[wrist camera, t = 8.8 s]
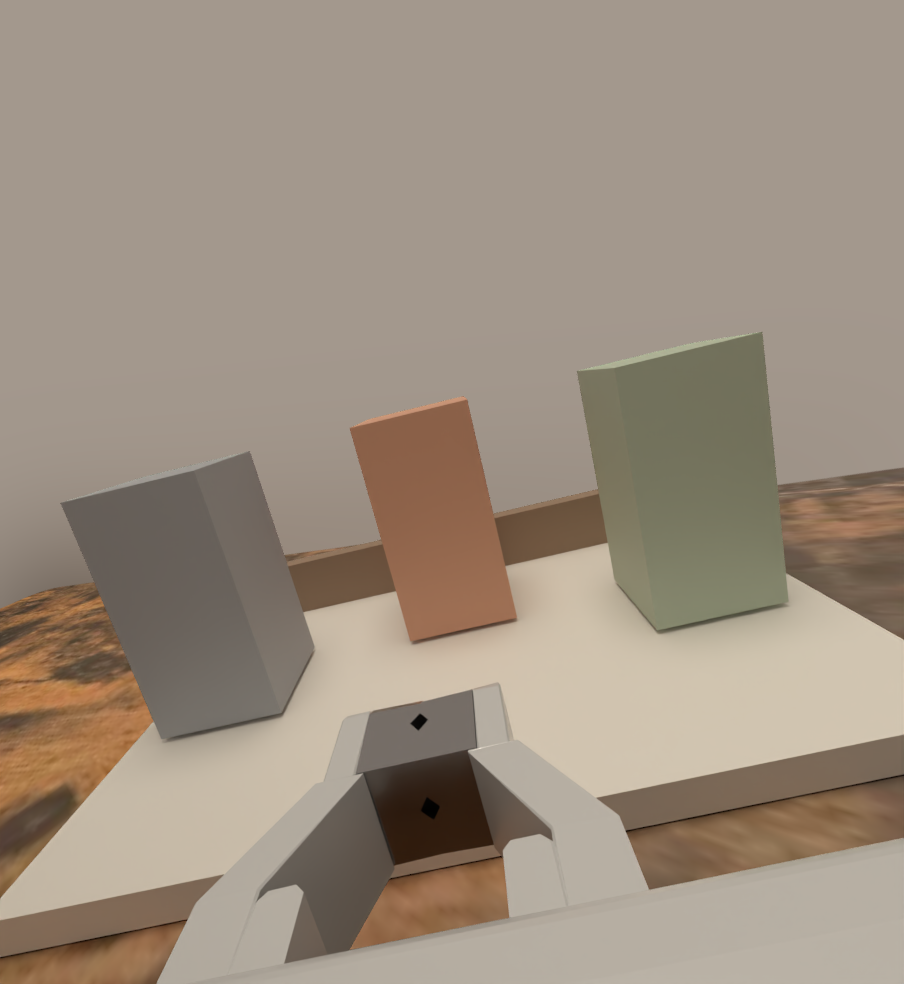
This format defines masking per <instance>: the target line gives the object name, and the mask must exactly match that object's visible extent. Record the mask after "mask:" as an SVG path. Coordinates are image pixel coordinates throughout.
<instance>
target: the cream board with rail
mask: <svg viewBox="0 0 904 984" xmlns="http://www.w3.org/2000/svg"><path fill="white" fill-rule="evenodd" d="M493 515H494V519H495V523H496V528H497V532H498V536H499V541H500V545H501V549H502V554H503V558H504V562H505V567H506V571H507V576H508V580H509V584H510V589H511V593H512V597H513V602H514V606H515V610H516V615H517V618H513V619H509V620H504V621H500V622H495V623H491V624H486V625H482V626H477V627H473V628H468V629H464V630H459V631H455V632H451V633H446V634H442V635H437V636H433V637H428V638H424V639H419V640H415V641H410V639H409V635H408V632H407V628H406V625H405V621H404V618H403V614H402V611H401V607H400V603H399V600H398V596H397V593H396V589H395V586H394V582H393V579H392V575H391V572H390V568H389V565H388V561H387V558H386V554H385V551H384V547H383V544H382V540H378V541H374V542H370V543H365V544H361V545H357V546H352V547H348V548H344V549H340V550H335V551H331V552H327V553H322V554H318V555H314V556H310V557H305V558H301V559H297V560H292V561H288V562H287V565H288V568H289V571H290V574H291V577H292V580H293V583H294V586H295V589H296V592H297V595H298V598H299V601H300V604H301V607H302V610H303V613H304V616H305V619H306V622H307V625H308V628H309V631H310V634H311V637H312V640H313V643H314V646H315V647H314V649H313V651H312V653H311V655H310V657H309V659H308V661H307V663H306V665H305V667H304V669H303V671H302V673H301V675H300V677H299V679H298V681H297V683H296V685H295V687H294V689H293V691H292V693H291V695H290V697H289V699H288V701H287V703H286V705H285V707H284V709H283V711H282V713H279V714H274V715H270V716H265V717H261V718H256V719H252V720H247V721H243V722H238V723H233V724H229V725H224V726H220V727H215V728H211V729H206V730H202V731H197V732H192V733H188V734H183V735H179V736H174V737H170V738H165V739H161V737H160V735H159V732H158V730H157V728H156V725H155V723H154V722H153V723H152V724H151V725H150V726H149V727H148V729H147V730H146V731H145V732H144V733H143V734H142V736H141V737H140V738H139V739H138V740H137V741H136V742H135V744H134V745H133V746H132V747H131V748H130V749H129V750H128V752H127V753H126V754H125V755H124V756H123V757H122V759H121V760H120V761H119V762H118V763H117V764H116V765H115V767H114V768H113V769H112V770H111V771H110V772H109V774H108V775H107V776H106V777H105V778H104V779H103V780H102V782H101V783H100V784H99V785H98V786H97V787H96V789H95V790H94V791H93V792H92V793H91V794H90V795H89V797H88V798H87V799H86V800H85V801H84V802H83V804H82V805H81V806H80V807H79V808H78V809H77V810H76V812H75V813H74V814H73V815H72V816H71V817H70V819H69V820H68V821H67V822H66V823H65V824H64V825H63V827H62V828H61V829H60V830H59V831H58V832H57V834H56V835H55V836H54V837H53V838H52V839H51V840H50V842H49V843H48V844H47V845H46V846H45V847H44V849H43V850H42V851H41V852H40V853H39V854H38V855H37V857H36V858H35V859H34V860H33V861H32V862H31V863H30V865H29V866H28V867H27V868H26V869H25V870H24V872H23V873H22V874H21V875H20V876H19V877H18V878H17V880H16V881H15V882H14V883H13V884H12V885H11V887H10V888H9V889H8V890H7V891H6V892H5V893H4V895H3V896H2V897H1V898H0V957H3V956H8V955H13V954H18V953H23V952H28V951H33V950H38V949H43V948H48V947H53V946H58V945H63V944H68V943H72V942H77V941H82V940H87V939H92V938H97V937H102V936H107V935H112V934H117V933H122V932H127V931H132V930H137V929H142V928H147V927H152V926H156V925H161V924H166V923H171V922H176V921H181V920H186V919H188V918H189V916H190V914H191V912H192V910H193V908H194V906H195V904H196V902H197V901H198V900H199V899H200V898H201V897H202V896H203V895H204V894H205V893H206V892H207V891H208V890H209V889H210V888H211V887H212V886H213V885H214V884H215V883H216V882H217V881H218V880H219V879H220V878H221V877H222V876H223V875H224V874H225V873H226V872H227V871H228V870H229V869H230V868H231V867H232V866H233V865H234V864H235V863H236V862H237V861H238V860H239V859H240V858H241V857H242V856H243V855H244V854H245V853H246V852H247V851H248V850H249V849H250V848H251V847H252V846H253V845H254V844H255V843H256V842H257V841H258V840H259V839H260V838H261V837H262V836H263V835H264V834H265V833H266V832H267V831H268V830H269V829H270V828H272V827H273V826H274V825H275V824H276V823H277V822H278V821H279V820H280V819H281V818H282V817H283V816H284V815H285V814H286V813H287V812H288V811H289V810H290V809H291V808H292V807H293V806H294V805H295V804H296V803H297V802H298V801H299V800H300V799H301V798H302V797H303V796H304V795H305V794H306V793H307V792H308V791H309V790H310V789H311V788H312V787H313V786H314V785H315V784H316V783H321V782H324V779H325V775H326V772H327V769H328V766H329V763H330V760H331V756H332V753H333V750H334V747H335V744H336V740H337V737H338V734H339V731H340V728H341V725H342V721H343V720H344V719H345V718H346V717H347V716H351V715H355V714H359V713H364V712H368V711H371V712H372V711H374V710H379V709H384V708H389V707H394V706H399V705H404V704H409V703H414V702H419V701H427V700H431V699H435V698H439V697H443V696H447V695H451V694H455V693H459V692H463V691H467V690H471V689H472V690H473V689H474V688H478V687H482V686H485V685H489V684H493V683H497V682H498V683H499V684H500V686H501V689H502V693H503V697H504V701H505V705H506V709H507V713H508V717H509V721H510V725H511V729H512V733H513V737H514V740H519V741H520V742H522V743H523V744H524V745H526V746H527V747H528V748H530V749H531V750H532V751H534V752H535V753H536V754H538V755H539V756H540V757H542V758H543V759H544V760H546V761H547V762H548V763H550V764H551V765H552V766H554V767H555V768H556V769H558V770H559V771H560V772H562V773H563V774H564V775H566V776H567V777H568V778H570V779H571V780H573V781H574V782H575V783H577V784H578V785H579V786H581V787H582V788H583V789H585V790H586V791H587V792H589V793H590V794H591V795H593V796H594V797H595V798H597V799H598V800H599V801H601V802H602V803H603V804H605V805H606V806H607V807H609V808H610V809H611V810H613V811H614V812H615V813H617V814H618V815H619V816H620V819H621V821H622V824H623V826H624V829H625V831H626V830H631V829H636V828H641V827H646V826H651V825H656V824H661V823H666V822H671V821H675V820H680V819H685V818H690V817H695V816H700V815H705V814H710V813H715V812H720V811H725V810H730V809H735V808H740V807H745V806H750V805H755V804H759V803H764V802H769V801H774V800H779V799H784V798H789V797H794V796H799V795H804V794H809V793H814V792H819V791H824V790H829V789H834V788H839V787H843V786H848V785H853V784H858V783H863V782H868V781H873V780H878V779H883V778H888V777H893V776H898V775H903V774H904V640H903V639H901V638H899V637H898V636H896V635H894V634H892V633H891V632H889V631H887V630H885V629H883V628H882V627H880V626H878V625H876V624H875V623H873V622H871V621H869V620H868V619H866V618H864V617H862V616H861V615H859V614H857V613H855V612H853V611H852V610H850V609H848V608H846V607H845V606H843V605H841V604H839V603H838V602H836V601H834V600H832V599H830V598H829V597H827V596H825V595H823V594H822V593H820V592H818V591H816V590H815V589H813V588H811V587H809V586H808V585H806V584H804V583H802V582H800V581H799V580H797V579H795V578H793V577H792V576H790V575H788V574H786V580H787V590H788V600H789V602H785V603H780V604H775V605H771V606H766V607H762V608H757V609H753V610H748V611H744V612H739V613H734V614H730V615H725V616H721V617H716V618H712V619H707V620H703V621H698V622H693V623H689V624H684V625H680V626H675V627H671V628H666V629H662V630H657V629H656V628H655V627H654V626H653V625H652V623H651V622H650V621H649V620H648V619H647V617H646V616H645V615H644V614H643V613H642V612H641V610H640V609H639V608H638V607H637V606H636V604H635V603H634V602H633V601H632V600H631V598H630V597H629V596H628V595H627V594H626V593H625V591H624V590H623V589H622V588H621V587H620V585H619V584H618V583H617V582H616V581H615V580H614V575H613V569H612V564H611V558H610V552H609V547H608V541H607V536H606V530H605V524H604V519H603V513H602V508H601V502H600V497H599V491H598V489H597V490H592V491H588V492H584V493H580V494H575V495H571V496H567V497H562V498H558V499H554V500H550V501H546V502H541V503H537V504H533V505H528V506H524V507H520V508H516V509H511V510H507V511H503V512H499V513H494V514H493ZM498 856H501V855H500V854H499V853H498V851H497V850H496V849H495V847H494V845H490V846H485V847H479V848H473V849H468V850H462V851H456V852H451V853H445V854H440V855H436V856H432V857H428V858H424V859H420V860H416V861H412V862H407V863H403V864H399V865H395V866H394V868H395V870H394V871H393V873H392V875H391V877H390V878H394V877H399V876H404V875H409V874H413V873H418V872H423V871H428V870H433V869H438V868H443V867H448V866H453V865H458V864H463V863H468V862H473V861H478V860H483V859H488V858H493V857H498Z"/></svg>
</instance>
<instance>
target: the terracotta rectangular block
mask: <svg viewBox="0 0 904 984" xmlns="http://www.w3.org/2000/svg"><path fill="white" fill-rule="evenodd" d="M350 431H351V435H352V438H353V442H354V445H355V449H356V452H357V455H358V459H359V463H360V466H361V470H362V473H363V477H364V480H365V484H366V487H367V491H368V495H369V498H370V502H371V505H372V509H373V512H374V516H375V519H376V523H377V526H378V529H379V533H380V537H381V540H382V544H383V547H384V551H385V554H386V558H387V561H388V565H389V568H390V572H391V575H392V579H393V582H394V586H395V589H396V593H397V596H398V600H399V603H400V607H401V611H402V614H403V618H404V621H405V625H406V628H407V632H408V635H409V639H410V641H415V640H419V639H424V638H428V637H433V636H437V635H442V634H446V633H451V632H455V631H459V630H464V629H468V628H473V627H477V626H482V625H486V624H491V623H495V622H500V621H504V620H509V619H513V618H517V615H516V610H515V606H514V602H513V597H512V593H511V589H510V584H509V580H508V576H507V571H506V567H505V562H504V558H503V554H502V549H501V545H500V541H499V536H498V532H497V528H496V523H495V519H494V515H493V511H492V506H491V502H490V497H489V493H488V488H487V485H486V480H485V475H484V471H483V467H482V463H481V458H480V454H479V449H478V445H477V441H476V436H475V432H474V428H473V423H472V419H471V414H470V410H469V406H468V401H467V399H466V398H465V397H464V396H462V397H458V398H454V399H450V400H445V401H441V402H438V403H434V404H429V405H425V406H421V407H417V408H413V409H409V410H405V411H400V412H396V413H393V414H388V415H384V416H380V417H376V418H372V419H368V420H366V421H364V422H362V423H360V424H357V425H355V426H353V427H351V428H350Z"/></svg>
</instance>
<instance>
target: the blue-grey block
mask: <svg viewBox="0 0 904 984" xmlns="http://www.w3.org/2000/svg"><path fill="white" fill-rule="evenodd" d="M61 505H62V507H63V510H64V512H65V514H66V517H67V519H68V521H69V524H70V526H71V528H72V531H73V533H74V536H75V538H76V540H77V543H78V545H79V547H80V550H81V552H82V554H83V557H84V559H85V561H86V563H87V566H88V568H89V571H90V573H91V575H92V578H93V580H94V582H95V585H96V587H97V589H98V592H99V594H100V597H101V599H102V601H103V604H104V606H105V608H106V611H107V613H108V615H109V618H110V620H111V622H112V625H113V627H114V629H115V632H116V634H117V636H118V639H119V641H120V643H121V646H122V648H123V650H124V653H125V655H126V657H127V660H128V662H129V664H130V667H131V669H132V672H133V674H134V676H135V679H136V681H137V683H138V686H139V688H140V690H141V693H142V695H143V697H144V700H145V702H146V704H147V707H148V709H149V711H150V714H151V716H152V718H153V721H154V723H155V725H156V728H157V730H158V732H159V735H160V737H161V739H165V738H170V737H174V736H179V735H183V734H188V733H192V732H197V731H202V730H206V729H211V728H215V727H220V726H224V725H229V724H233V723H238V722H243V721H247V720H252V719H256V718H261V717H265V716H270V715H274V714H279V713H282V711H283V709H284V707H285V705H286V703H287V701H288V699H289V697H290V695H291V693H292V691H293V689H294V687H295V685H296V683H297V681H298V679H299V677H300V675H301V673H302V671H303V669H304V667H305V665H306V663H307V661H308V659H309V657H310V655H311V653H312V651H313V649H314V647H315V646H314V643H313V640H312V637H311V634H310V631H309V628H308V625H307V622H306V619H305V616H304V613H303V610H302V607H301V604H300V601H299V598H298V595H297V592H296V589H295V586H294V583H293V580H292V577H291V574H290V571H289V568H288V565H287V562H286V559H285V556H284V553H283V550H282V547H281V544H280V541H279V538H278V535H277V532H276V529H275V526H274V523H273V520H272V517H271V514H270V511H269V508H268V505H267V502H266V499H265V496H264V493H263V490H262V487H261V484H260V481H259V478H258V475H257V472H256V469H255V466H254V463H253V460H252V457H251V454H250V451H248V452H244V453H240V454H236V455H231V456H227V457H224V458H219V459H215V460H211V461H207V462H203V463H199V464H195V465H190V466H187V467H183V468H179V469H174V470H170V471H166V472H162V473H158V474H154V475H150V476H145V477H142V478H139V479H136V480H132V481H129V482H126V483H123V484H120V485H117V486H113V487H110V488H107V489H104V490H100V491H97V492H94V493H91V494H88V495H85V496H81V497H78V498H75V499H72V500H68V501H65V502H62V503H61Z"/></svg>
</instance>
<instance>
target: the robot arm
mask: <svg viewBox="0 0 904 984" xmlns="http://www.w3.org/2000/svg"><path fill="white" fill-rule="evenodd" d="M490 845H494V847H495V849H496V850H497V851H498V853H499V854H500V855H501V856H502V858H503V859H504V868H505V877H506V887H507V897H508V907H509V917H510V918H506V919H501V920H496V921H491V922H486V923H481V924H476V925H471V926H466V927H461V928H456V929H451V930H447V931H442V932H437V933H432V934H427V935H422V936H417V937H412V938H407V939H402V940H397V941H393V942H388V943H383V944H378V945H373V946H368V947H363V948H358V949H353V950H349V949H350V948H351V946H352V944H353V942H354V941H355V939H356V937H357V935H358V934H359V932H360V930H361V928H362V926H363V925H364V923H365V921H366V919H367V918H368V916H369V914H370V912H371V910H372V909H373V907H374V905H375V903H376V902H377V900H378V898H379V896H380V894H381V893H382V891H383V889H384V887H385V886H386V884H387V882H388V880H389V878H390V877H391V875H392V873H393V871H394V870H395V868H394V866H395V865H399V864H403V863H407V862H412V861H416V860H420V859H424V858H428V857H432V856H436V855H440V854H445V853H451V852H456V851H462V850H468V849H473V848H479V847H485V846H490ZM157 984H904V838H902V839H897V840H892V841H887V842H882V843H877V844H872V845H867V846H862V847H857V848H852V849H847V850H842V851H837V852H832V853H827V854H822V855H818V856H813V857H808V858H803V859H798V860H793V861H788V862H783V863H778V864H773V865H768V866H763V867H758V868H754V869H749V870H744V871H739V872H734V873H730V874H725V875H720V876H715V877H710V878H706V879H701V880H696V881H691V882H686V883H681V884H676V885H671V886H666V887H661V888H656V889H651V890H649V889H648V886H647V884H646V881H645V879H644V876H643V874H642V871H641V869H640V866H639V864H638V861H637V859H636V856H635V854H634V851H633V849H632V846H631V844H630V841H629V839H628V836H627V834H626V831H625V829H624V826H623V824H622V821H621V819H620V816H619V815H618V814H617V813H615V812H614V811H613V810H611V809H610V808H609V807H607V806H606V805H605V804H603V803H602V802H601V801H599V800H598V799H597V798H595V797H594V796H593V795H591V794H590V793H589V792H587V791H586V790H585V789H583V788H582V787H581V786H579V785H578V784H577V783H575V782H574V781H573V780H571V779H570V778H568V777H567V776H566V775H564V774H563V773H562V772H560V771H559V770H558V769H556V768H555V767H554V766H552V765H551V764H550V763H548V762H547V761H546V760H544V759H543V758H542V757H540V756H539V755H538V754H536V753H535V752H534V751H532V750H531V749H530V748H528V747H527V746H526V745H524V744H523V743H522V742H520V741H519V740H514V737H513V733H512V729H511V725H510V721H509V717H508V713H507V709H506V705H505V701H504V697H503V693H502V689H501V686H500V684H499V683H498V682H497V683H493V684H489V685H485V686H482V687H478V688H474V689H473V690H472V689H471V690H467V691H463V692H459V693H455V694H451V695H447V696H443V697H439V698H435V699H431V700H427V701H419V702H414V703H409V704H404V705H399V706H394V707H389V708H384V709H379V710H374V711H372V712H371V711H368V712H364V713H359V714H355V715H351V716H347V717H346V718H345V719H344V720H343V721H342V725H341V728H340V731H339V734H338V737H337V740H336V744H335V747H334V750H333V753H332V756H331V760H330V763H329V766H328V769H327V772H326V775H325V779H324V782H321V783H316V784H315V785H314V786H313V787H312V788H311V789H310V790H309V791H308V792H307V793H306V794H305V795H304V796H303V797H302V798H301V799H300V800H299V801H298V802H297V803H296V804H295V805H294V806H293V807H292V808H291V809H290V810H289V811H288V812H287V813H286V814H285V815H284V816H283V817H282V818H281V819H280V820H279V821H278V822H277V823H276V824H275V825H274V826H273V827H272V828H270V829H269V830H268V831H267V832H266V833H265V834H264V835H263V836H262V837H261V838H260V839H259V840H258V841H257V842H256V843H255V844H254V845H253V846H252V847H251V848H250V849H249V850H248V851H247V852H246V853H245V854H244V855H243V856H242V857H241V858H240V859H239V860H238V861H237V862H236V863H235V864H234V865H233V866H232V867H231V868H230V869H229V870H228V871H227V872H226V873H225V874H224V875H223V876H222V877H221V878H220V879H219V880H218V881H217V882H216V883H215V884H214V885H213V886H212V887H211V888H210V889H209V890H208V891H207V892H206V893H205V894H204V895H203V896H202V897H201V898H200V899H199V900H198V901H197V902H196V904H195V906H194V908H193V910H192V912H191V914H190V916H189V918H188V920H187V922H186V924H185V926H184V928H183V930H182V932H181V934H180V936H179V939H178V941H177V943H176V945H175V947H174V949H173V951H172V953H171V955H170V957H169V959H168V961H167V963H166V965H165V967H164V969H163V971H162V973H161V975H160V977H159V979H158V982H157Z"/></svg>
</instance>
